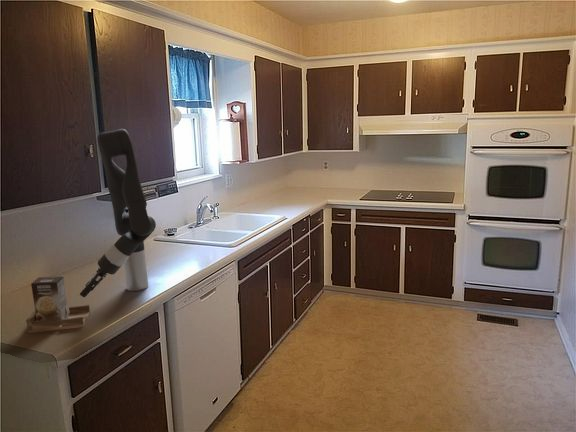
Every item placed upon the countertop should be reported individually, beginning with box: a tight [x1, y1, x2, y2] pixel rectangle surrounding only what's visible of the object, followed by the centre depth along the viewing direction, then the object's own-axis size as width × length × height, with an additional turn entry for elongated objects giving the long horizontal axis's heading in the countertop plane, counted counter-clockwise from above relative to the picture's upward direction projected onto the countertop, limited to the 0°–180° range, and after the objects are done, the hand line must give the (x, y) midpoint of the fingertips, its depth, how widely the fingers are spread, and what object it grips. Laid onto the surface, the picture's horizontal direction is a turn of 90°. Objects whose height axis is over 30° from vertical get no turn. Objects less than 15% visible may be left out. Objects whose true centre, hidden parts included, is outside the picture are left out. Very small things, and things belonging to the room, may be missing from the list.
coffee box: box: [30, 276, 69, 324], centre depth 160 cm, size 9×6×16 cm
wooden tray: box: [25, 304, 91, 334], centre depth 162 cm, size 12×18×5 cm, turn 102°
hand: (84, 291), depth 162 cm, fingers open, 8 cm apart
